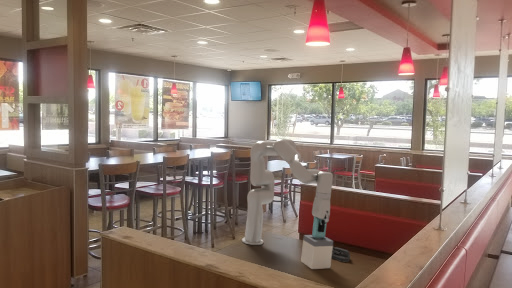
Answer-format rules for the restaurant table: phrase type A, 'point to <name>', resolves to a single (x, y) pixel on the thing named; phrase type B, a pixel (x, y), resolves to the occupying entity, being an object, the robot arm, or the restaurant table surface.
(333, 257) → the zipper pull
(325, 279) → the restaurant table surface
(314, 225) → the teal block
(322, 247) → the white slotted box
